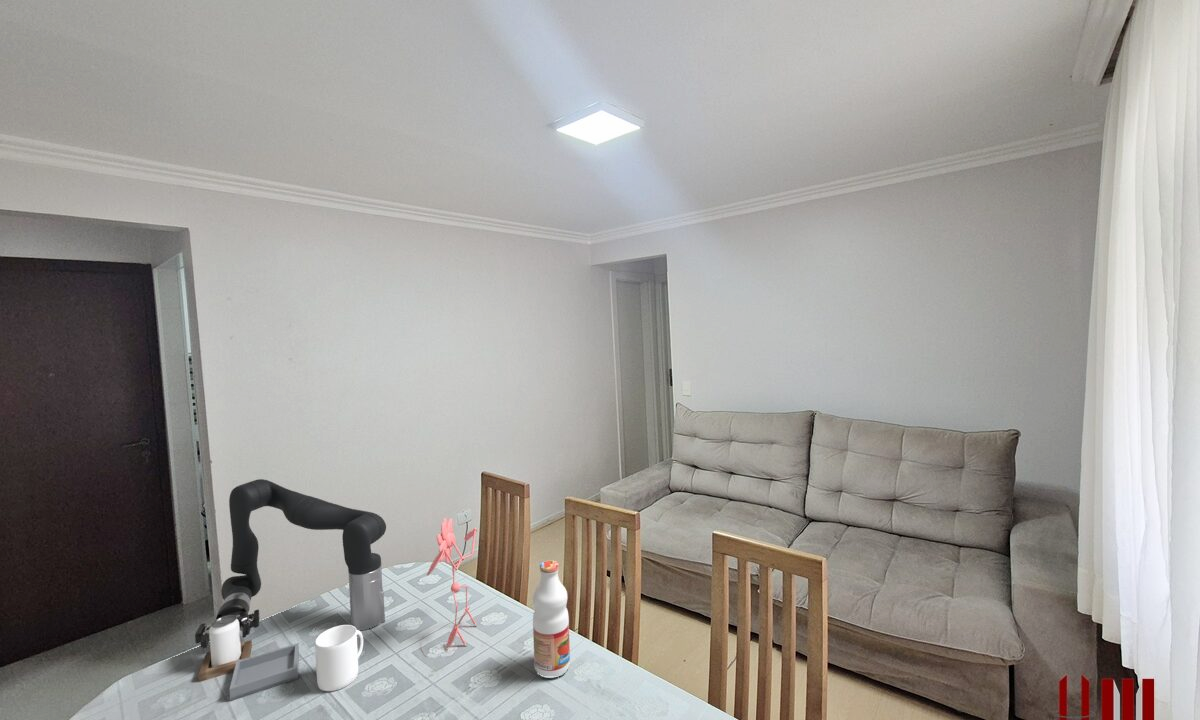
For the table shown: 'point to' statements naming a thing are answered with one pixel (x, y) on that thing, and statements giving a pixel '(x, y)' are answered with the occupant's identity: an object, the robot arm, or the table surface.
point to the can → (225, 640)
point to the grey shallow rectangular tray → (265, 671)
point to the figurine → (445, 543)
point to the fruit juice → (550, 623)
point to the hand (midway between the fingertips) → (224, 639)
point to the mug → (337, 657)
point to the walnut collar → (224, 668)
